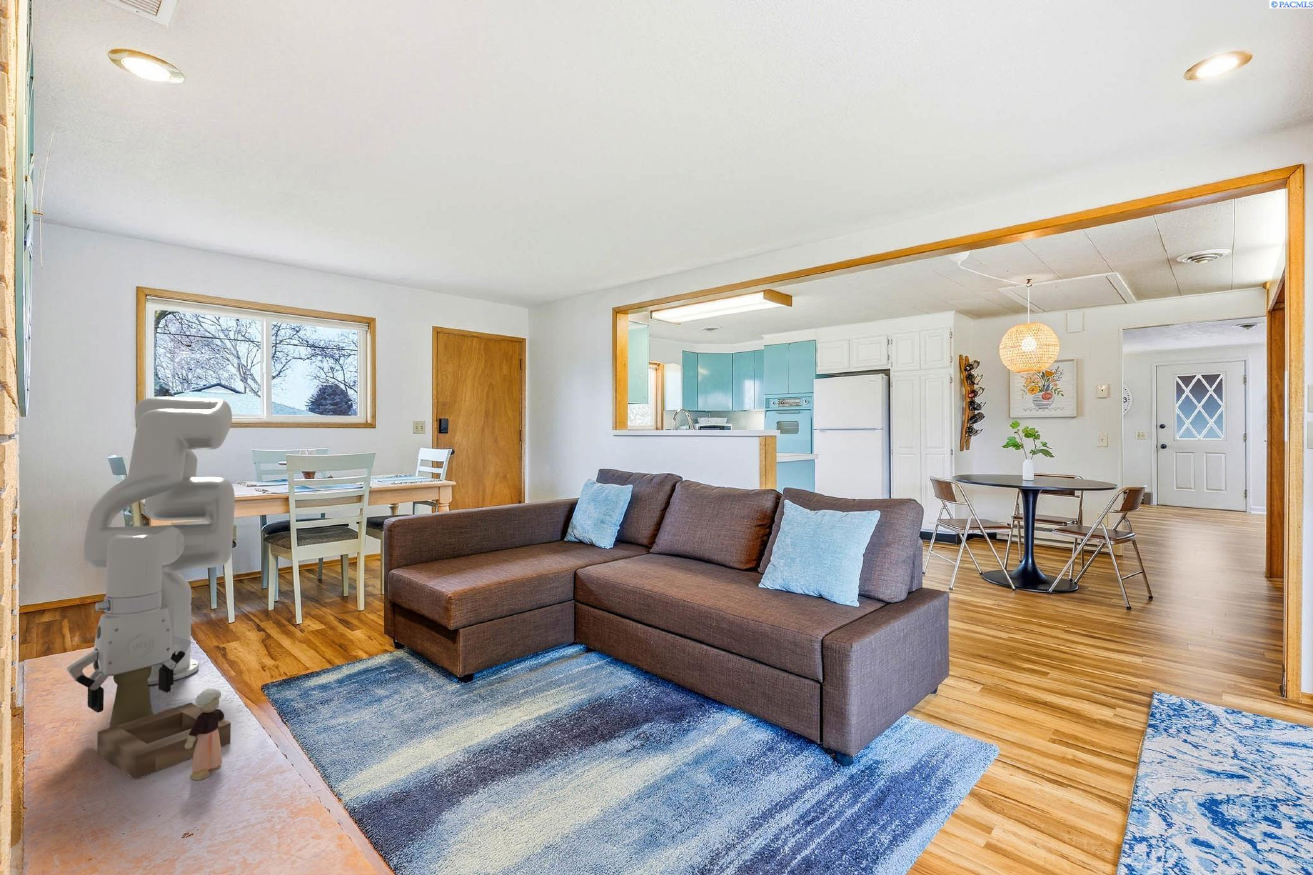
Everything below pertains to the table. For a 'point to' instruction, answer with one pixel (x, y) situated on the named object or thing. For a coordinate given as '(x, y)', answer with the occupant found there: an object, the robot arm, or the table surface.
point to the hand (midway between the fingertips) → (132, 700)
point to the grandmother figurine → (206, 735)
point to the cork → (131, 697)
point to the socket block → (153, 741)
